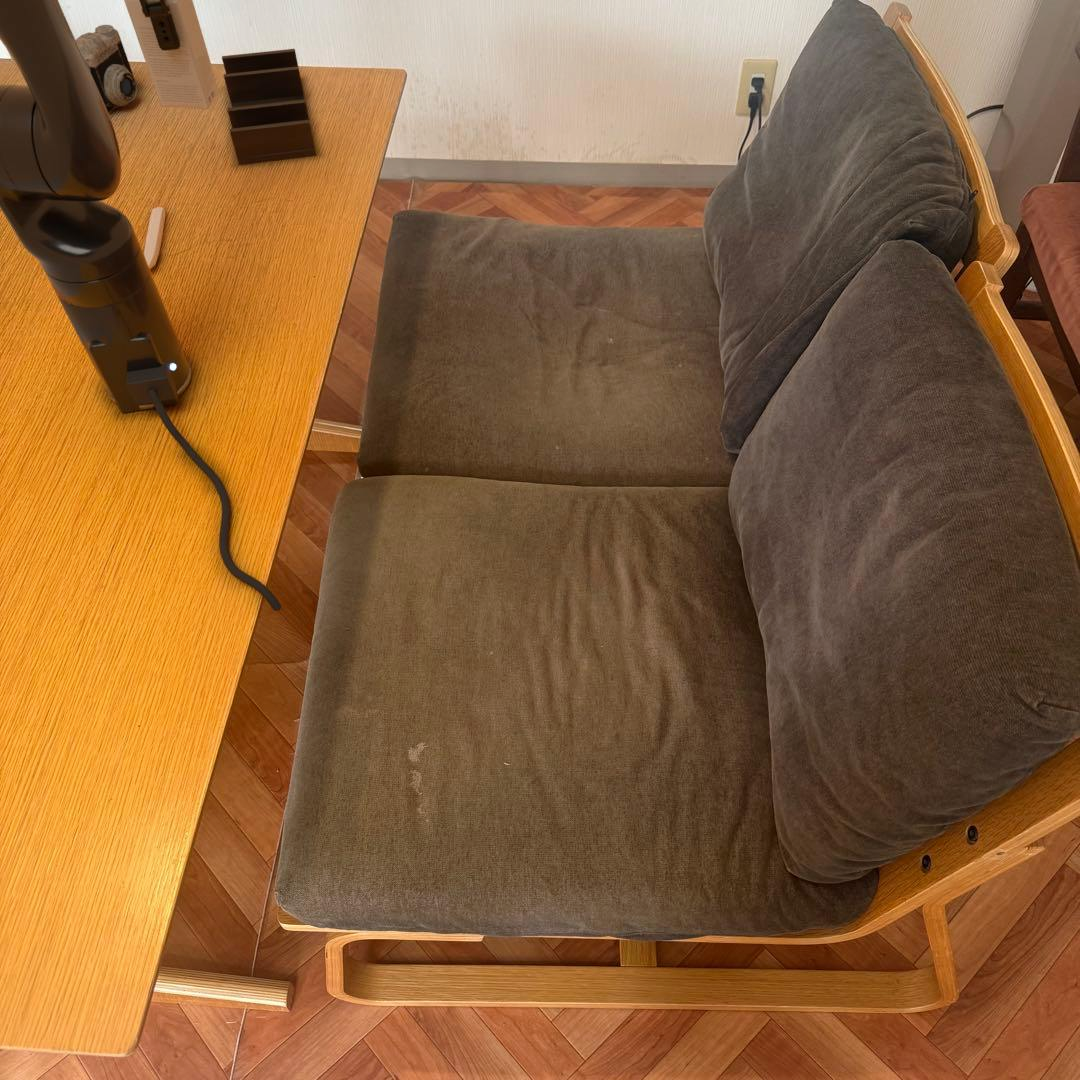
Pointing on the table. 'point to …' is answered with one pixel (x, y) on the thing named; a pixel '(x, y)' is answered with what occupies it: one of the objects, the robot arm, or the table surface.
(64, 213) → the robot arm
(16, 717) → the table surface
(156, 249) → the pen
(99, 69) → the camera
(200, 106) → the cosmetic box
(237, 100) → the rack
